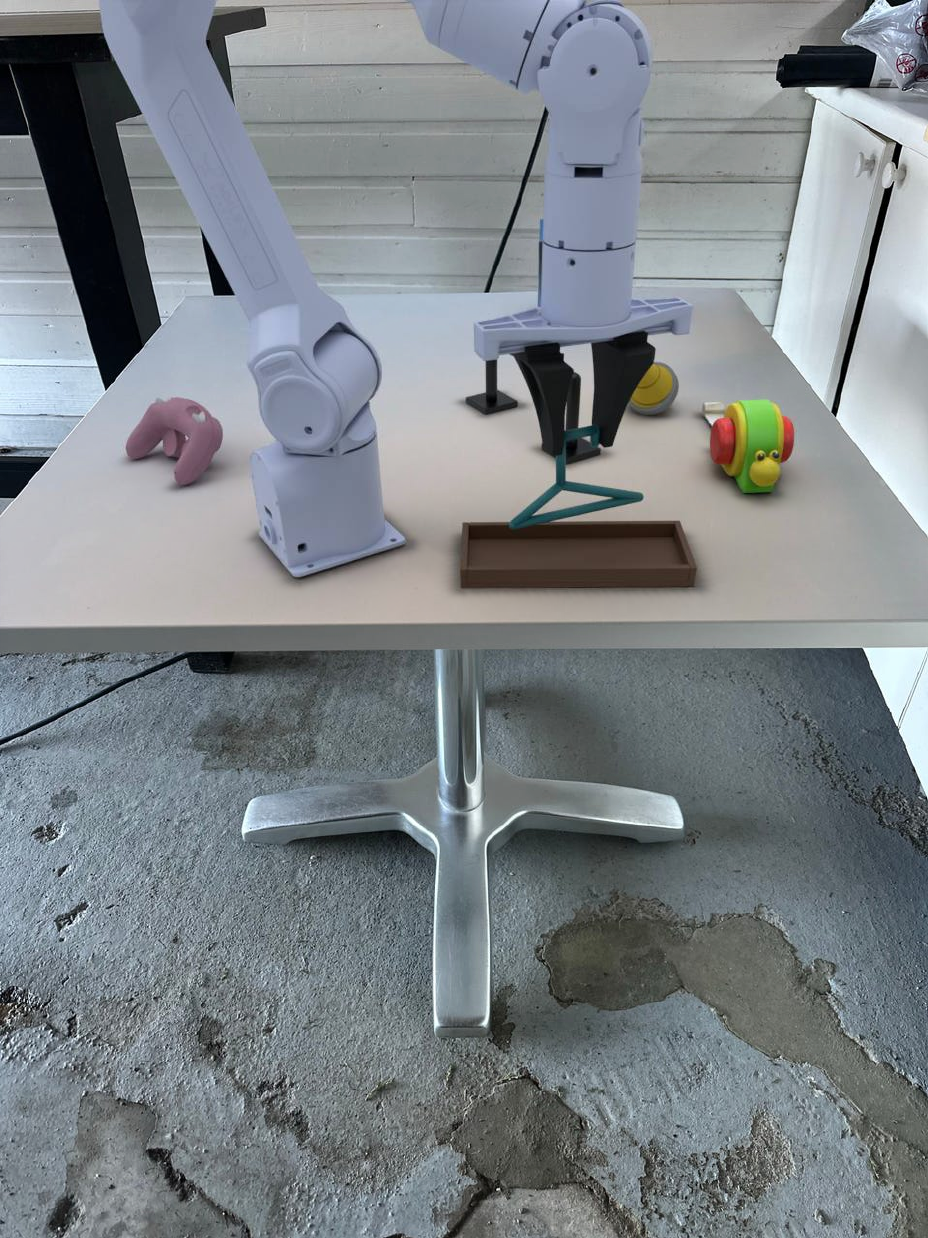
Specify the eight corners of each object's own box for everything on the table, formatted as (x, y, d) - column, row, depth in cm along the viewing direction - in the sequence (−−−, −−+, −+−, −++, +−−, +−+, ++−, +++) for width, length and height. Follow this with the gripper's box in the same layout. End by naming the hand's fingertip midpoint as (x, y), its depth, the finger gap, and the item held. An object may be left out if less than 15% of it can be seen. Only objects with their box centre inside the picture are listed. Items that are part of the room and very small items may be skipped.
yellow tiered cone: (690, 416, 91) (662, 371, 83) (640, 433, 93) (608, 391, 85) (681, 371, 93) (652, 322, 84) (632, 388, 95) (599, 343, 87)
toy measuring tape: (725, 505, 75) (737, 432, 71) (680, 414, 90) (688, 350, 87) (801, 504, 74) (818, 430, 71) (743, 413, 90) (754, 349, 86)
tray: (460, 588, 65) (460, 569, 64) (462, 539, 71) (462, 521, 70) (694, 586, 65) (697, 567, 64) (677, 537, 70) (680, 520, 69)
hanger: (510, 532, 64) (507, 445, 60) (507, 527, 65) (503, 441, 61) (644, 502, 67) (650, 416, 63) (640, 498, 67) (645, 412, 63)
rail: (565, 464, 82) (569, 384, 77) (465, 402, 94) (463, 330, 90) (600, 454, 83) (606, 375, 79) (497, 394, 96) (497, 323, 92)
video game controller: (220, 491, 82) (237, 416, 80) (177, 486, 78) (193, 408, 77) (162, 461, 88) (177, 390, 86) (119, 455, 84) (134, 381, 82)
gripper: (664, 217, 60) (645, 410, 67) (457, 237, 56) (462, 438, 64) (719, 239, 54) (691, 447, 62) (494, 263, 51) (494, 480, 59)
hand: (577, 445), depth 63 cm, fingers closed on hanger, 3 cm apart
